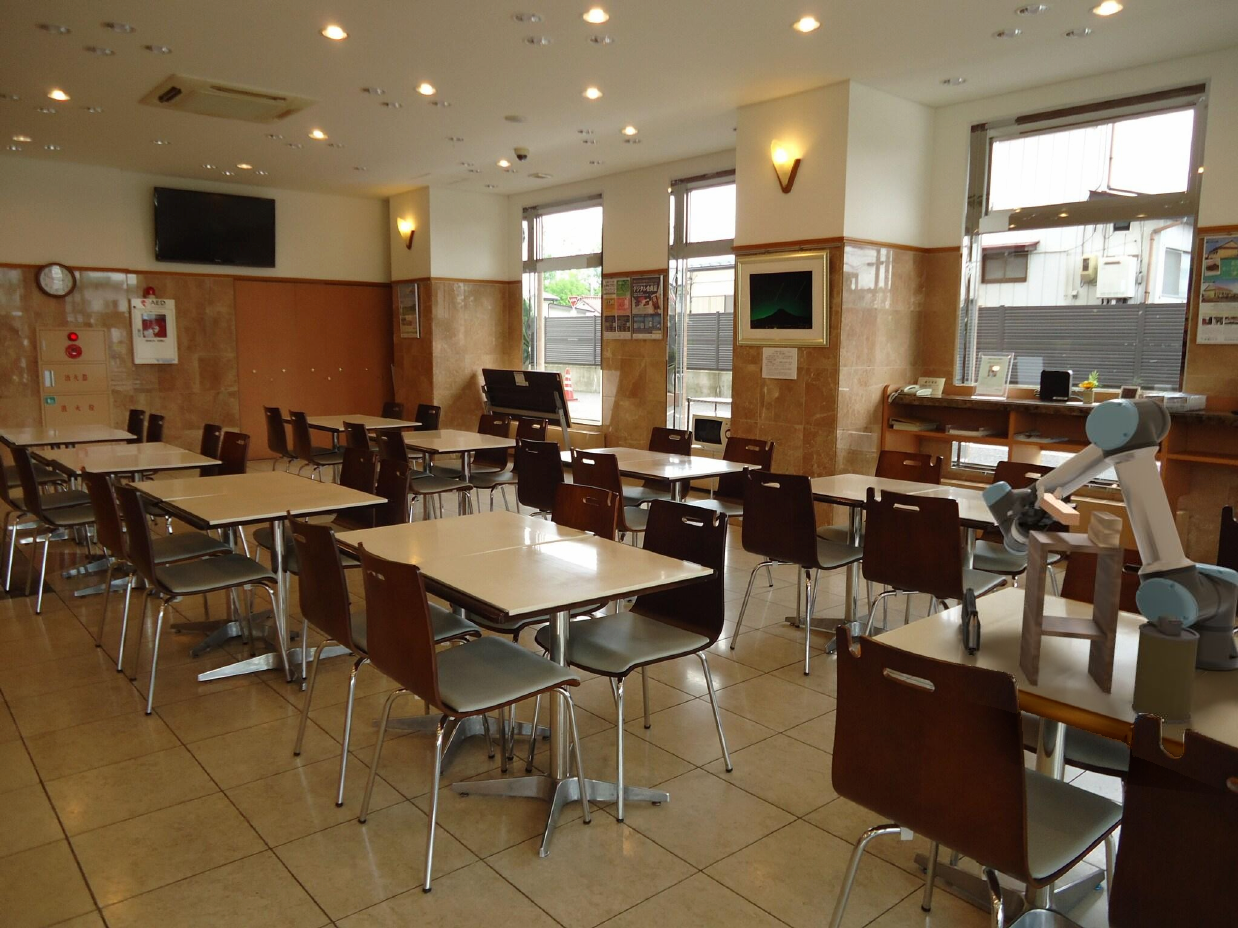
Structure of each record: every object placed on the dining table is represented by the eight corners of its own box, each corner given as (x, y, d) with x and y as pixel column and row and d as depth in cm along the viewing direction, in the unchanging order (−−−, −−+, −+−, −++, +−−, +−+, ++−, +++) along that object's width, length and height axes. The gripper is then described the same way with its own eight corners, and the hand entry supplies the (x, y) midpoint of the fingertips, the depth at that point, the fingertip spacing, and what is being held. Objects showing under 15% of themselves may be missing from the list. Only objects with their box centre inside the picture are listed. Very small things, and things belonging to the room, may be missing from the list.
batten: (1035, 502, 214) (1036, 492, 214) (1049, 503, 213) (1050, 493, 213) (1063, 524, 187) (1064, 512, 187) (1079, 525, 186) (1079, 513, 186)
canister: (1203, 723, 174) (1213, 626, 172) (1150, 723, 174) (1160, 625, 172) (1168, 702, 185) (1178, 609, 183) (1119, 701, 185) (1127, 609, 182)
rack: (1094, 672, 202) (1109, 508, 197) (1111, 694, 189) (1127, 520, 184) (1019, 665, 206) (1031, 504, 201) (1030, 686, 193) (1043, 515, 188)
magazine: (962, 588, 239) (968, 582, 211) (975, 589, 238) (983, 583, 210) (959, 652, 236) (964, 655, 208) (972, 653, 235) (979, 656, 207)
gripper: (1064, 541, 223) (1090, 509, 202) (996, 536, 227) (1014, 505, 206) (1063, 513, 226) (1088, 478, 205) (995, 509, 230) (1013, 475, 209)
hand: (1051, 492), depth 206 cm, fingers closed on batten, 3 cm apart
